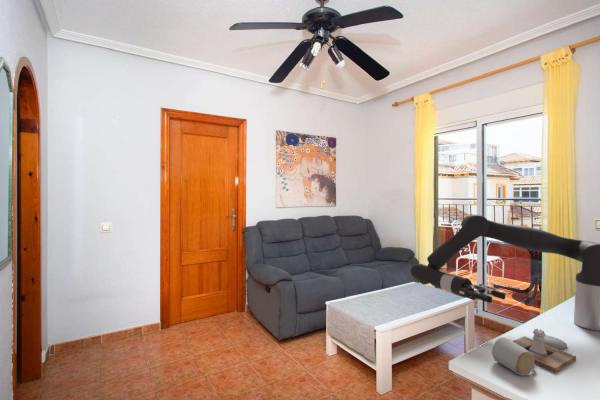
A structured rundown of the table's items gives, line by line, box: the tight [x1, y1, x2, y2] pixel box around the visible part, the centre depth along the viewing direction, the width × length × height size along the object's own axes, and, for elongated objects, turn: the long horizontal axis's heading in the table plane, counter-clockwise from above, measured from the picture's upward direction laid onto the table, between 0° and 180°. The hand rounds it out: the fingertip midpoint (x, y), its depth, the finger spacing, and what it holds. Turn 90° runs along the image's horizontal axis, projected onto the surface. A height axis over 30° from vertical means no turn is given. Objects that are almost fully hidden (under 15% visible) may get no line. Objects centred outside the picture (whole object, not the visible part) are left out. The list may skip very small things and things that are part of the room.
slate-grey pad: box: [532, 334, 568, 351], centre depth 103 cm, size 9×9×1 cm
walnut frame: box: [511, 335, 577, 374], centre depth 95 cm, size 14×14×1 cm
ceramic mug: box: [491, 337, 536, 376], centre depth 87 cm, size 11×8×8 cm
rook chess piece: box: [529, 328, 548, 358], centre depth 95 cm, size 4×4×8 cm
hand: (498, 298), depth 105 cm, fingers open, 8 cm apart
